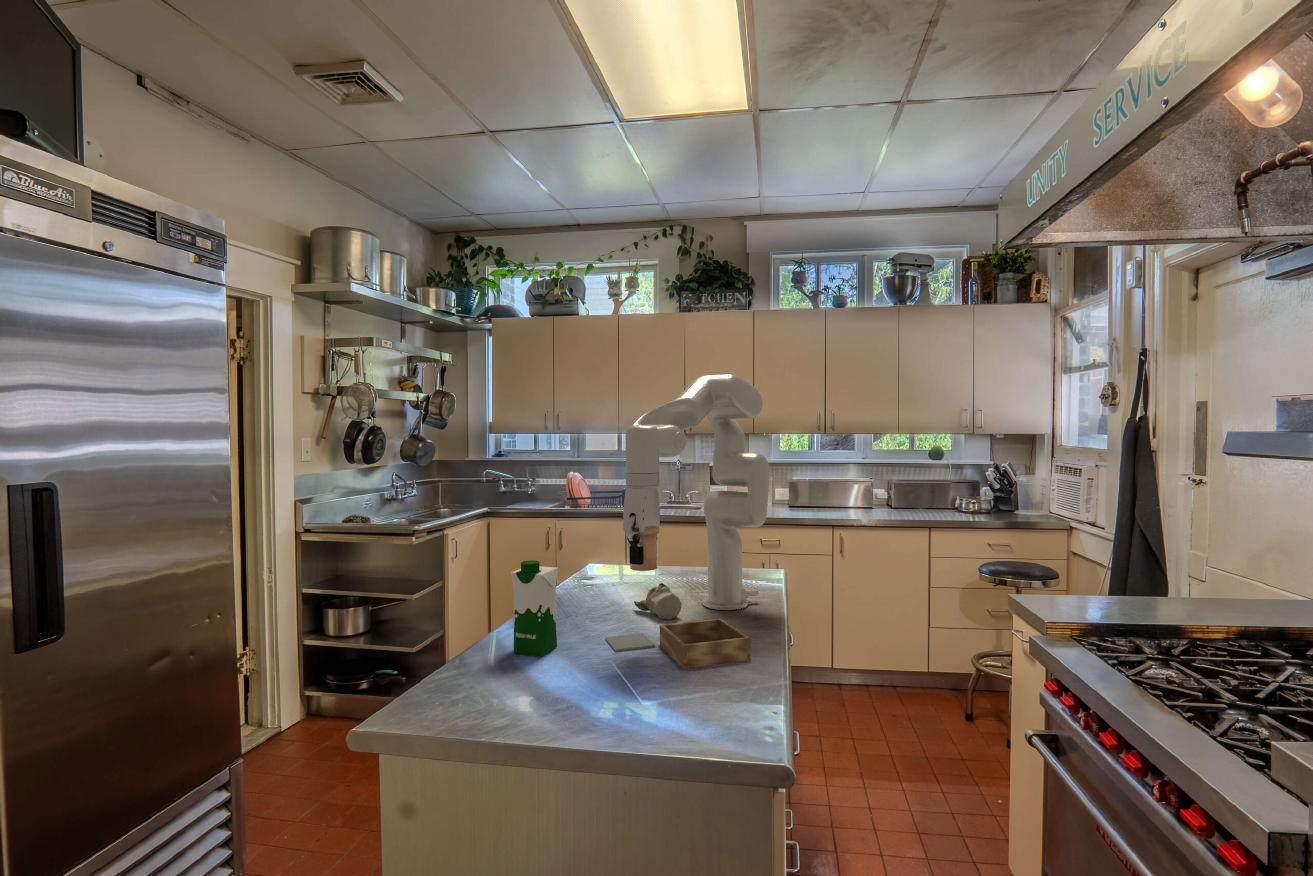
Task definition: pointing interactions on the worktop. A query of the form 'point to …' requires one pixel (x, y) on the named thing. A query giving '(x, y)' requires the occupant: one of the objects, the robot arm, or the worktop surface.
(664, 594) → the ceramic sculpture
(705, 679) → the worktop surface
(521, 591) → the milk carton
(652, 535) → the terracotta pot
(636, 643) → the slate tile
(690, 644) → the open wooden box
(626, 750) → the worktop surface
